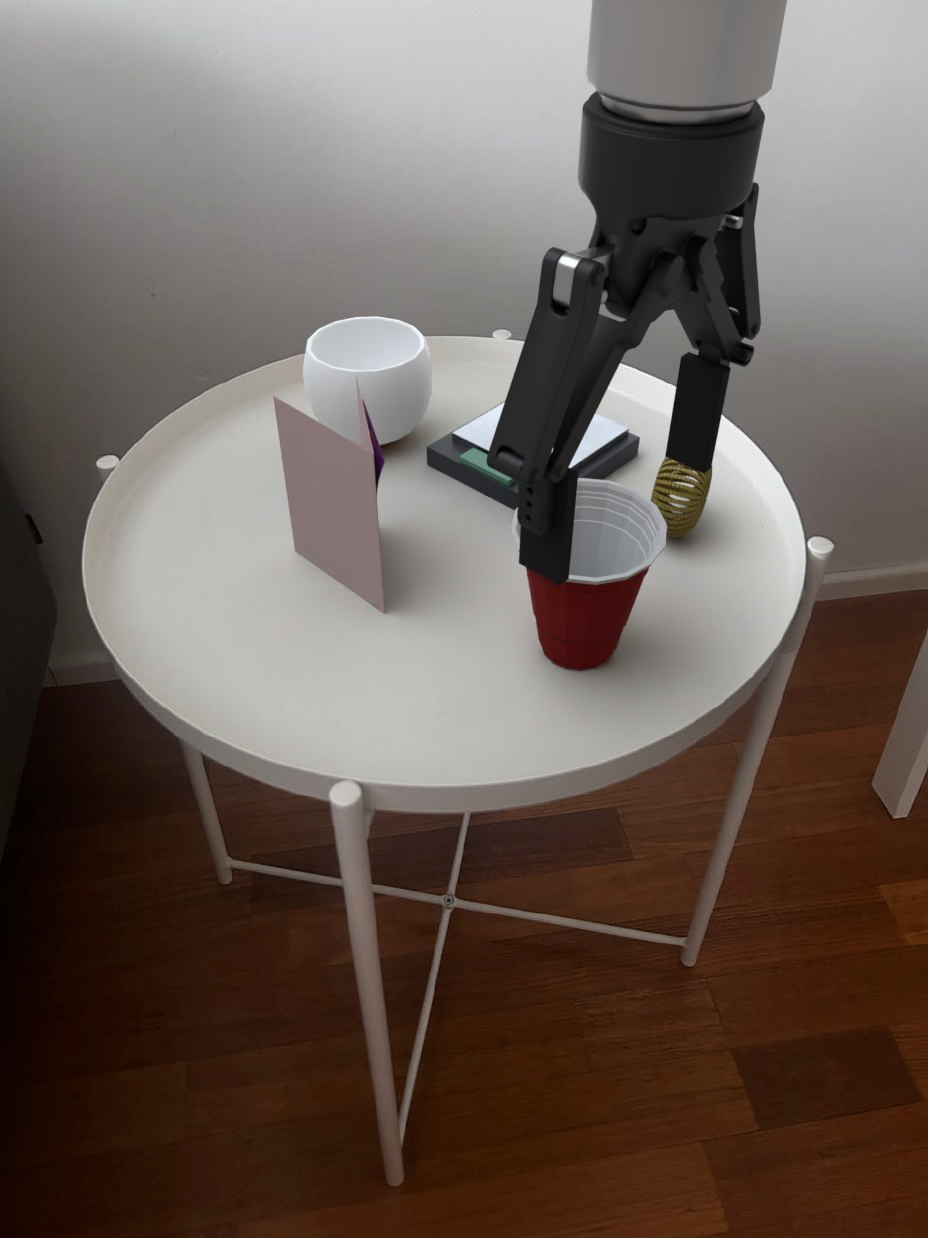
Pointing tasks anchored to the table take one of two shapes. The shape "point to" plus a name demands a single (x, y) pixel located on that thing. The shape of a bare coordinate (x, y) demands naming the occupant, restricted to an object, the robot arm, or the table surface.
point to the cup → (368, 376)
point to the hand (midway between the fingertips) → (620, 513)
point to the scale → (592, 460)
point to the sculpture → (668, 487)
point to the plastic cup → (596, 574)
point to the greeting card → (334, 498)
